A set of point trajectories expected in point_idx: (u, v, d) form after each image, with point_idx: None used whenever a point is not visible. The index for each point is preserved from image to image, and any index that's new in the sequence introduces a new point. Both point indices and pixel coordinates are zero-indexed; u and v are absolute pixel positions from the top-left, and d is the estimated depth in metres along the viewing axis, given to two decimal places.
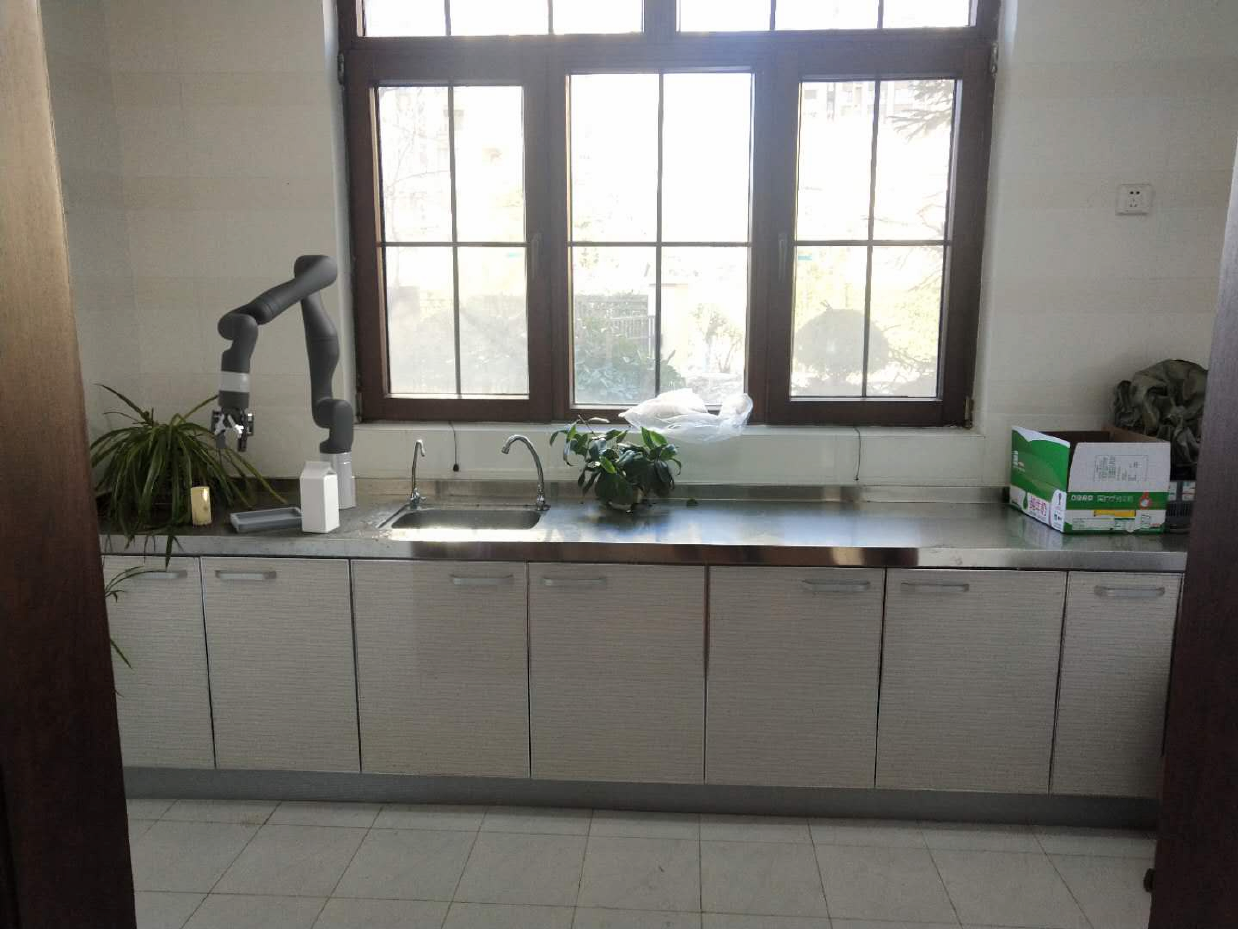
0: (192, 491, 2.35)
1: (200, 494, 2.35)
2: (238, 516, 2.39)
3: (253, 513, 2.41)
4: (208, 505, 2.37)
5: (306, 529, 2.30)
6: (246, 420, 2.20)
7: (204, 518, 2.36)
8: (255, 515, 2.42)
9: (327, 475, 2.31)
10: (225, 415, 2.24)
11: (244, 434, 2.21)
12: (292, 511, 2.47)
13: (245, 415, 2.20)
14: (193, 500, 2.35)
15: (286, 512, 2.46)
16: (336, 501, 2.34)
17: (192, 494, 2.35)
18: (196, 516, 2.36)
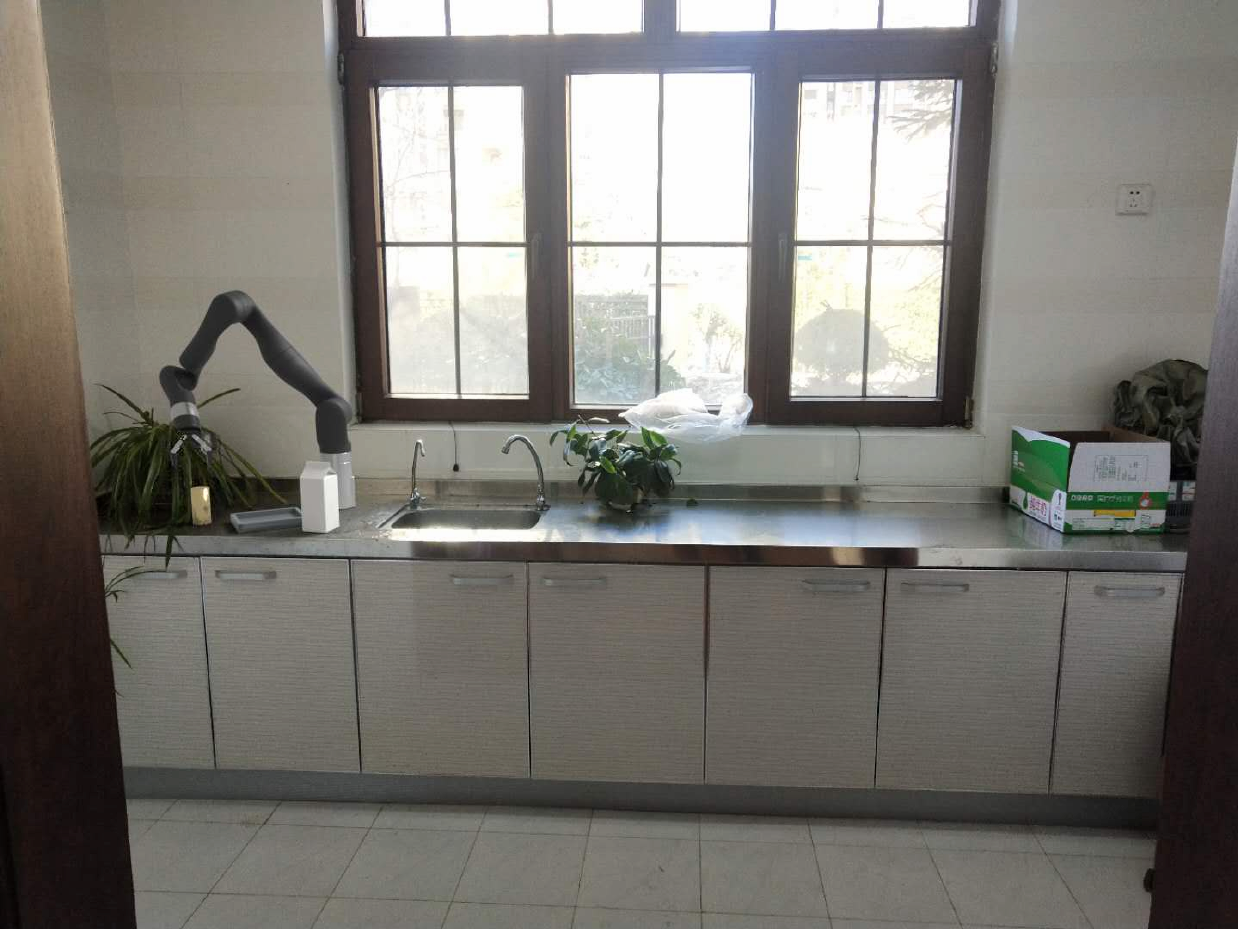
0: (192, 491, 2.35)
1: (200, 494, 2.35)
2: (238, 516, 2.39)
3: (253, 513, 2.41)
4: (208, 505, 2.37)
5: (306, 529, 2.30)
6: None
7: (204, 518, 2.36)
8: (255, 515, 2.42)
9: (327, 475, 2.31)
10: None
11: None
12: (292, 511, 2.47)
13: None
14: (193, 500, 2.35)
15: (286, 512, 2.46)
16: (336, 501, 2.34)
17: (192, 494, 2.35)
18: (196, 516, 2.36)
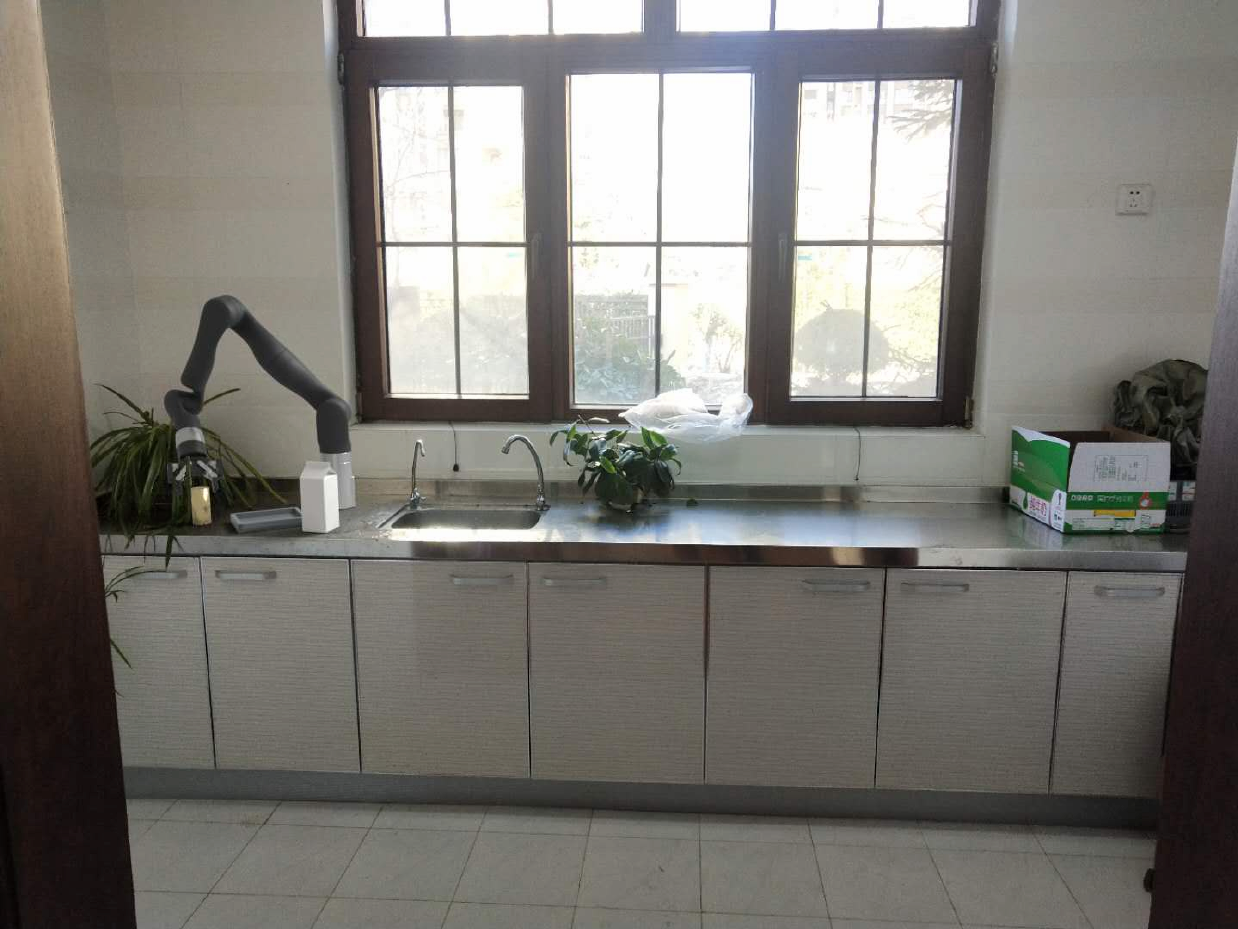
0: (192, 491, 2.35)
1: (200, 494, 2.35)
2: (238, 516, 2.39)
3: (253, 513, 2.41)
4: (208, 505, 2.37)
5: (306, 529, 2.30)
6: None
7: (204, 518, 2.36)
8: (255, 515, 2.42)
9: (327, 475, 2.31)
10: None
11: None
12: (292, 511, 2.47)
13: None
14: (193, 500, 2.35)
15: (286, 512, 2.46)
16: (336, 501, 2.34)
17: (192, 494, 2.35)
18: (196, 516, 2.36)
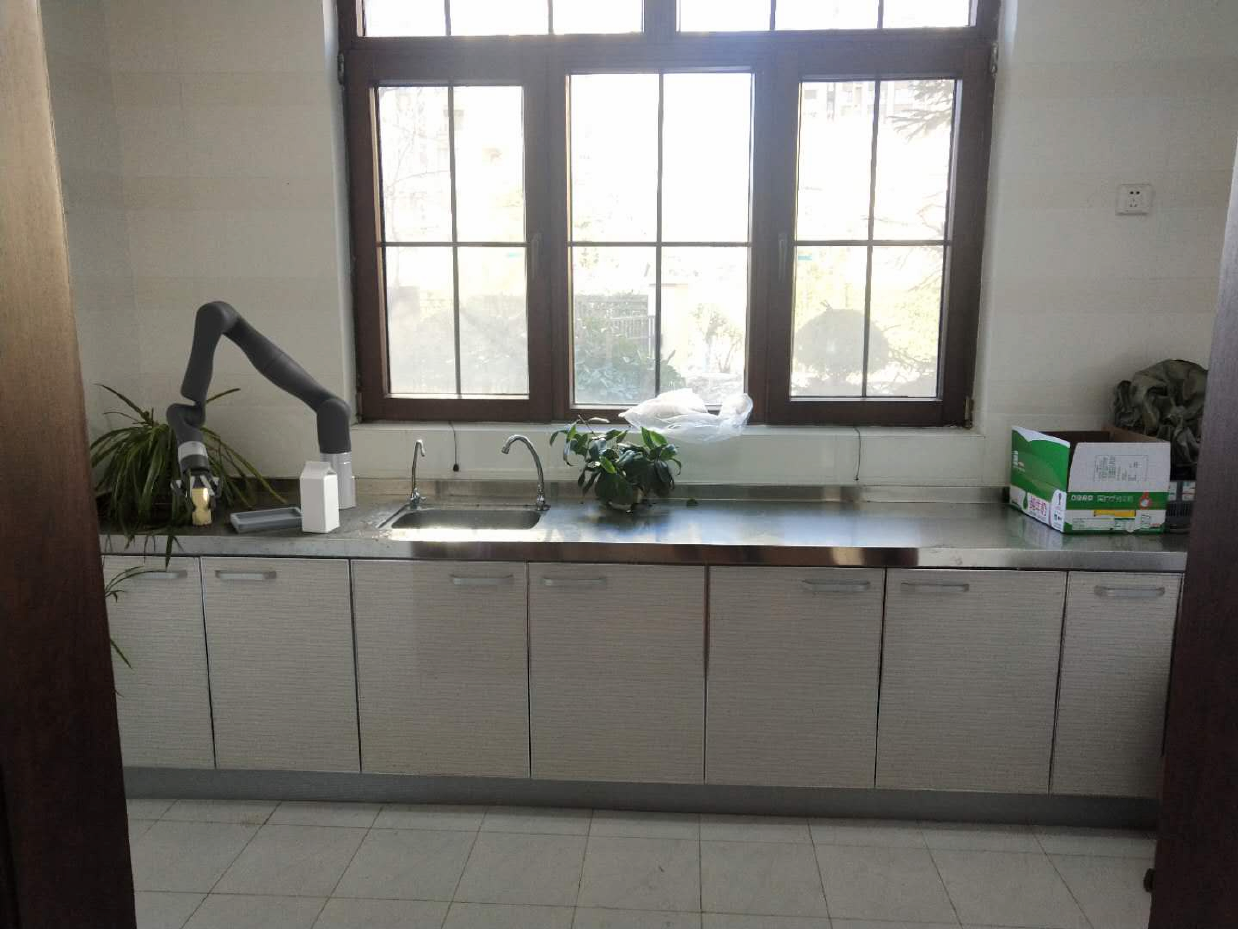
0: (192, 491, 2.35)
1: (200, 494, 2.35)
2: (238, 516, 2.39)
3: (253, 513, 2.41)
4: (208, 505, 2.37)
5: (306, 529, 2.30)
6: None
7: (204, 518, 2.36)
8: (255, 515, 2.42)
9: (327, 475, 2.31)
10: None
11: None
12: (292, 511, 2.47)
13: None
14: (193, 500, 2.35)
15: (286, 512, 2.46)
16: (336, 501, 2.34)
17: (192, 494, 2.35)
18: (196, 516, 2.36)
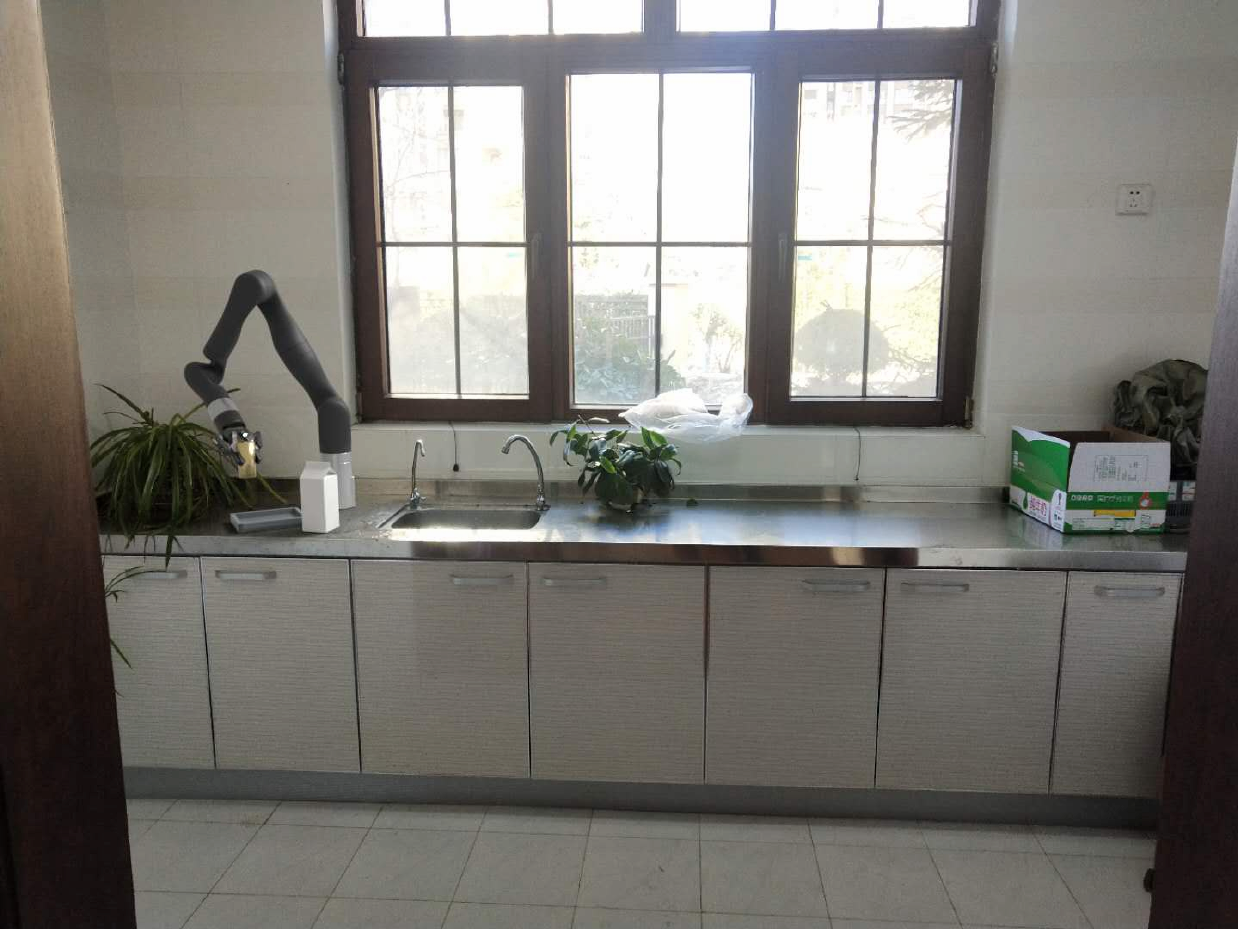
0: (241, 445, 2.38)
1: (249, 447, 2.39)
2: (238, 516, 2.39)
3: (253, 513, 2.41)
4: None
5: (306, 529, 2.30)
6: (216, 445, 2.38)
7: (253, 471, 2.41)
8: (255, 515, 2.42)
9: (327, 475, 2.31)
10: None
11: None
12: (292, 511, 2.47)
13: None
14: (242, 454, 2.39)
15: (286, 512, 2.46)
16: (336, 501, 2.34)
17: (241, 448, 2.39)
18: (245, 470, 2.40)
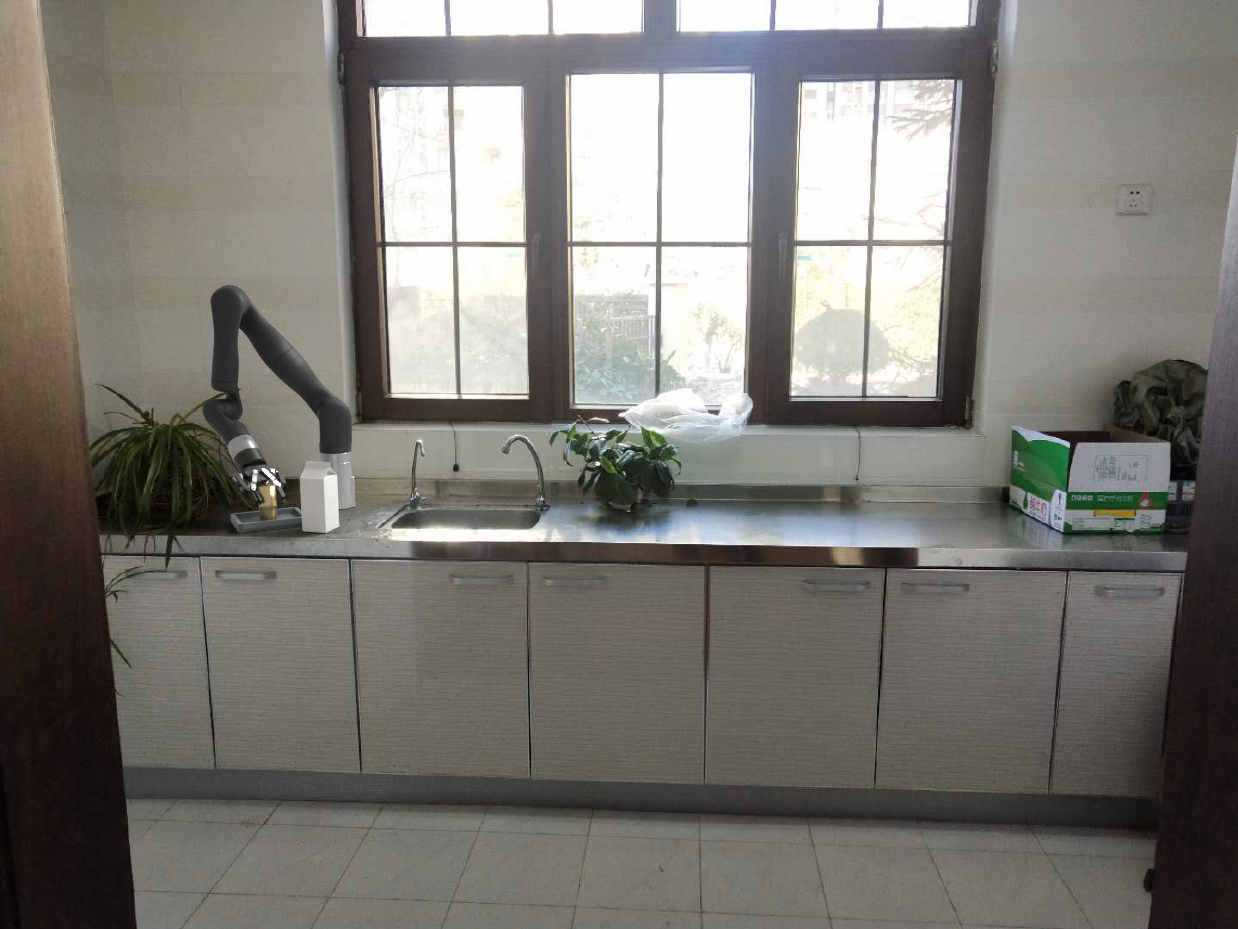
0: (262, 489, 2.34)
1: (270, 491, 2.35)
2: (238, 516, 2.39)
3: (253, 513, 2.41)
4: (276, 502, 2.38)
5: (306, 529, 2.30)
6: (235, 483, 2.34)
7: (274, 515, 2.37)
8: (255, 515, 2.42)
9: (327, 475, 2.31)
10: None
11: None
12: (292, 511, 2.47)
13: None
14: (263, 498, 2.35)
15: (286, 512, 2.46)
16: (336, 501, 2.34)
17: (262, 492, 2.34)
18: (266, 514, 2.36)
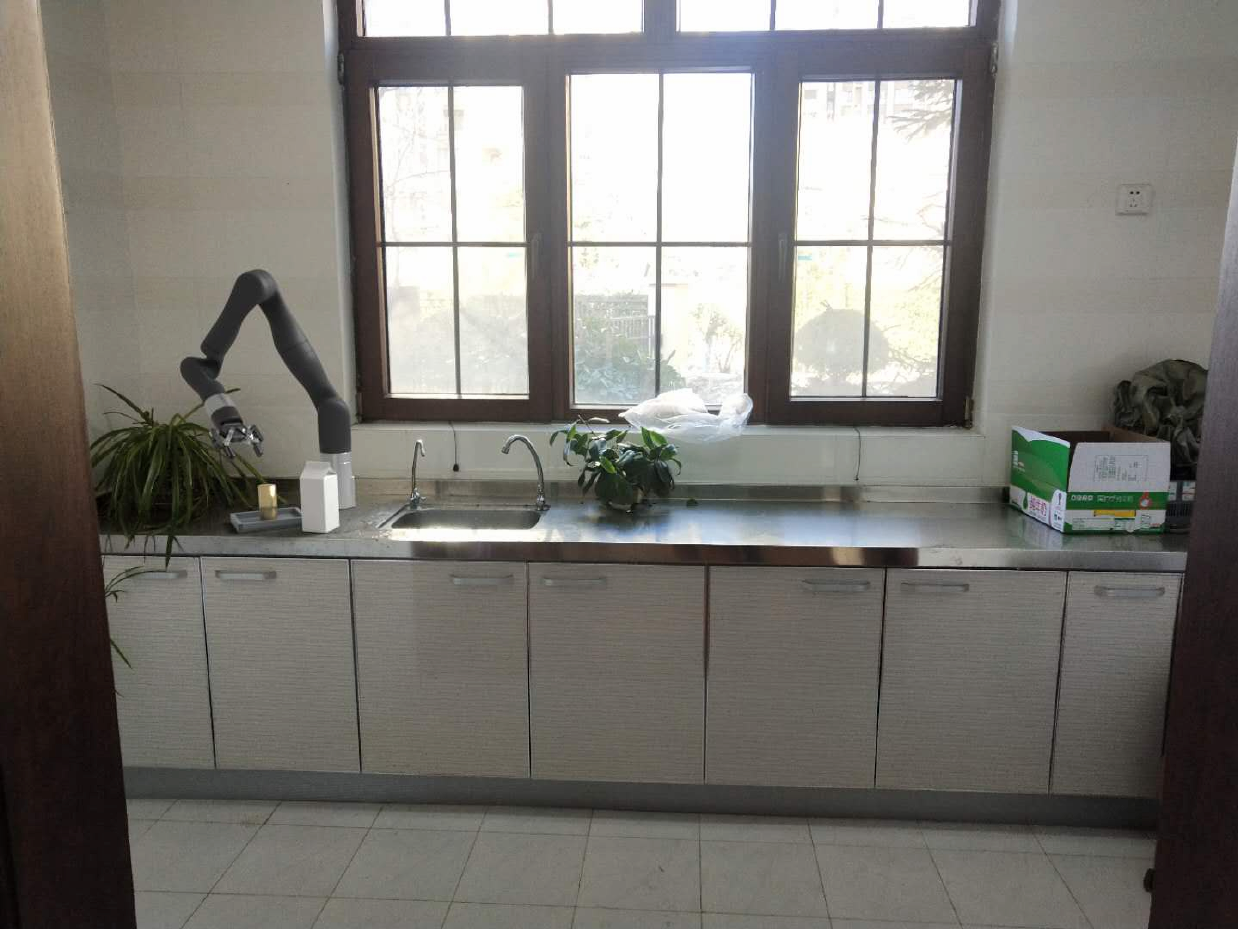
0: (262, 489, 2.34)
1: (270, 491, 2.35)
2: (238, 516, 2.39)
3: (253, 513, 2.41)
4: (276, 502, 2.38)
5: (306, 529, 2.30)
6: (210, 437, 2.39)
7: (274, 515, 2.37)
8: (255, 515, 2.42)
9: (327, 475, 2.31)
10: None
11: None
12: (292, 511, 2.47)
13: None
14: (263, 498, 2.35)
15: (286, 512, 2.46)
16: (336, 501, 2.34)
17: (262, 492, 2.35)
18: (266, 514, 2.36)
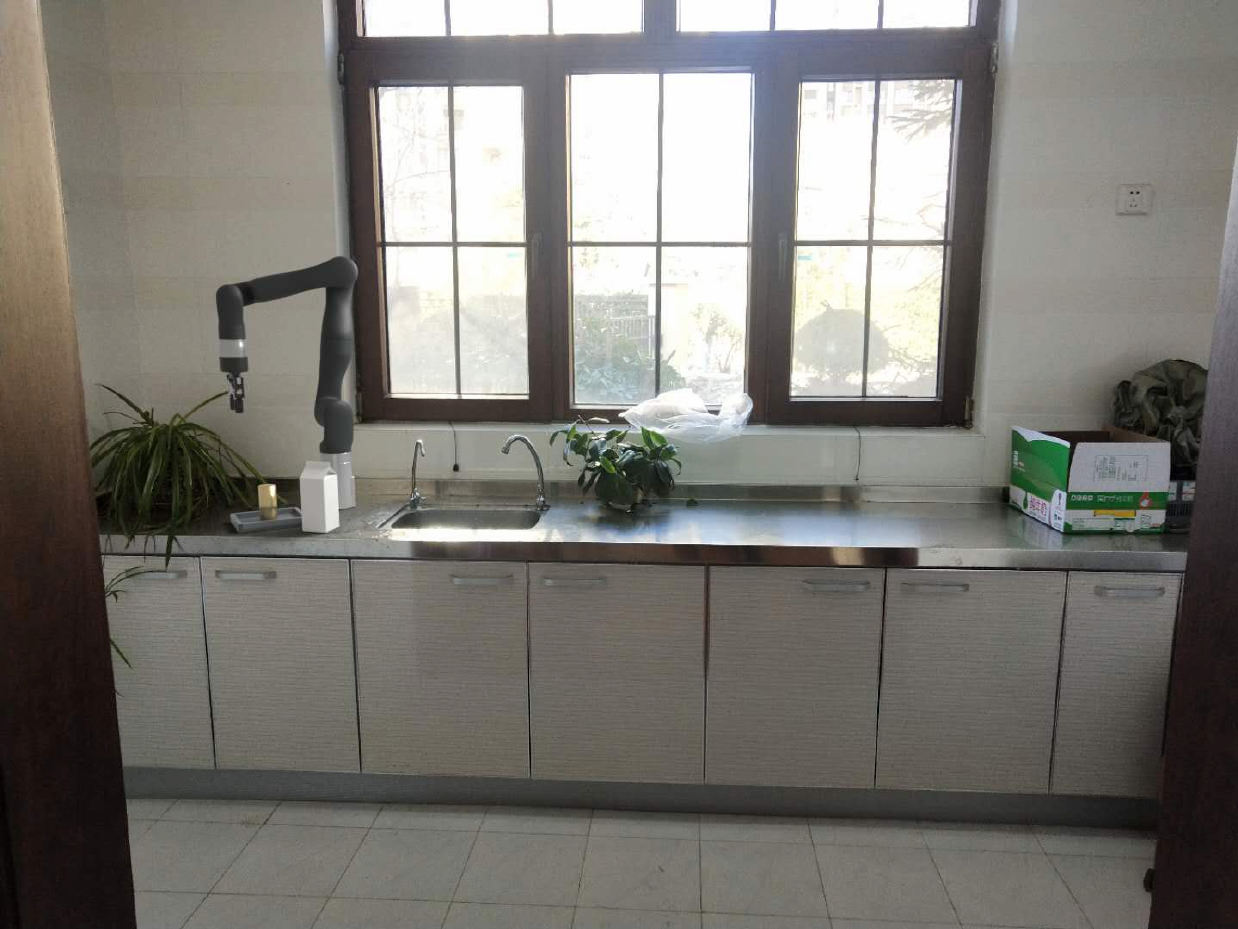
0: (262, 489, 2.34)
1: (270, 491, 2.35)
2: (238, 516, 2.39)
3: (253, 513, 2.41)
4: (276, 502, 2.38)
5: (306, 529, 2.30)
6: (235, 383, 2.38)
7: (274, 515, 2.37)
8: (255, 515, 2.42)
9: (327, 475, 2.31)
10: (228, 379, 2.44)
11: (235, 397, 2.39)
12: (292, 511, 2.47)
13: (234, 379, 2.38)
14: (263, 498, 2.35)
15: (286, 512, 2.46)
16: (336, 501, 2.34)
17: (262, 492, 2.35)
18: (266, 514, 2.36)
